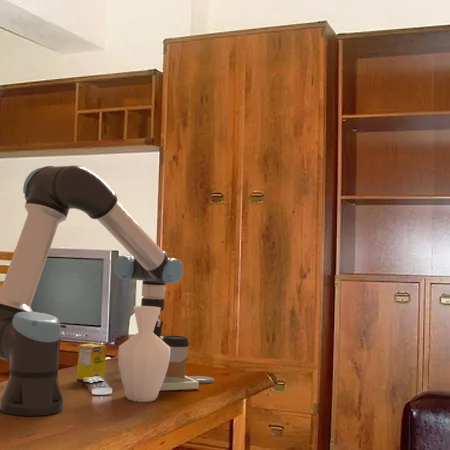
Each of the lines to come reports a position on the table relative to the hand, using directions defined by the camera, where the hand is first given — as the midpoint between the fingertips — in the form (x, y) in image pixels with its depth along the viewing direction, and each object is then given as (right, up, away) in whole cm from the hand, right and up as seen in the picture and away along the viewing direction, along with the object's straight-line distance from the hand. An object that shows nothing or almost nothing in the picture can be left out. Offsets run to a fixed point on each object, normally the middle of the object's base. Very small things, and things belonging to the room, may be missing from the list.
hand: (148, 370), depth 225 cm
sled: (+5, -1, -10) cm, 12 cm away
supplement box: (-16, 0, -15) cm, 22 cm away
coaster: (+17, -2, -4) cm, 18 cm away
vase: (+2, -1, -34) cm, 34 cm away
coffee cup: (+9, -2, -18) cm, 20 cm away
